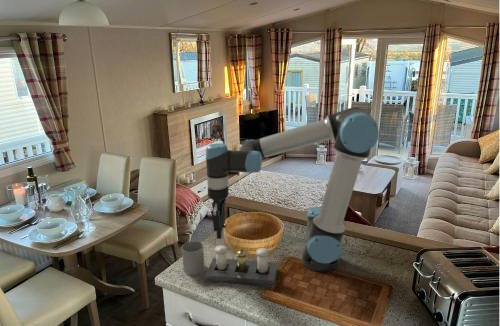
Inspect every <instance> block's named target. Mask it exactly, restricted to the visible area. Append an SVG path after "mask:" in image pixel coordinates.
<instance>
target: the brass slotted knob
mask: <svg viewBox="0 0 500 326" xmlns="http://www.w3.org/2000/svg"><path fill="white" fill-rule="evenodd" d="M235 252H236V254H235V255H236V257H237V260H238V270H241V271H243V270H246V260H247V255H248V250H247V249H245V248H239V249H237V250H236V251H235Z"/></svg>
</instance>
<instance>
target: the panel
mask: <svg viewBox="0 0 500 326" xmlns="http://www.w3.org/2000/svg"><path fill="white" fill-rule="evenodd" d="M277 273H278V262H273V261H268V271H267V272H265V273H260V272H258V268H257V260H250V259H249V260H247V259H246V270H243V271H241V270H238V259H232V258H231V259H230V258H227V268H226V269H223V270H220V269H217V264H216V257H213V258H212V259H211V261H210V264H209V266H208V269H207V270H206V273H205V275H204V277H205V278H204V279H205V283H214V284H224V285H238V286H249V287H263V288H271V287H272V286H273V287H274V285H275V286H276V280H277ZM275 279H276V280H275ZM269 286H271V287H269ZM274 288H275V287H274Z"/></svg>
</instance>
